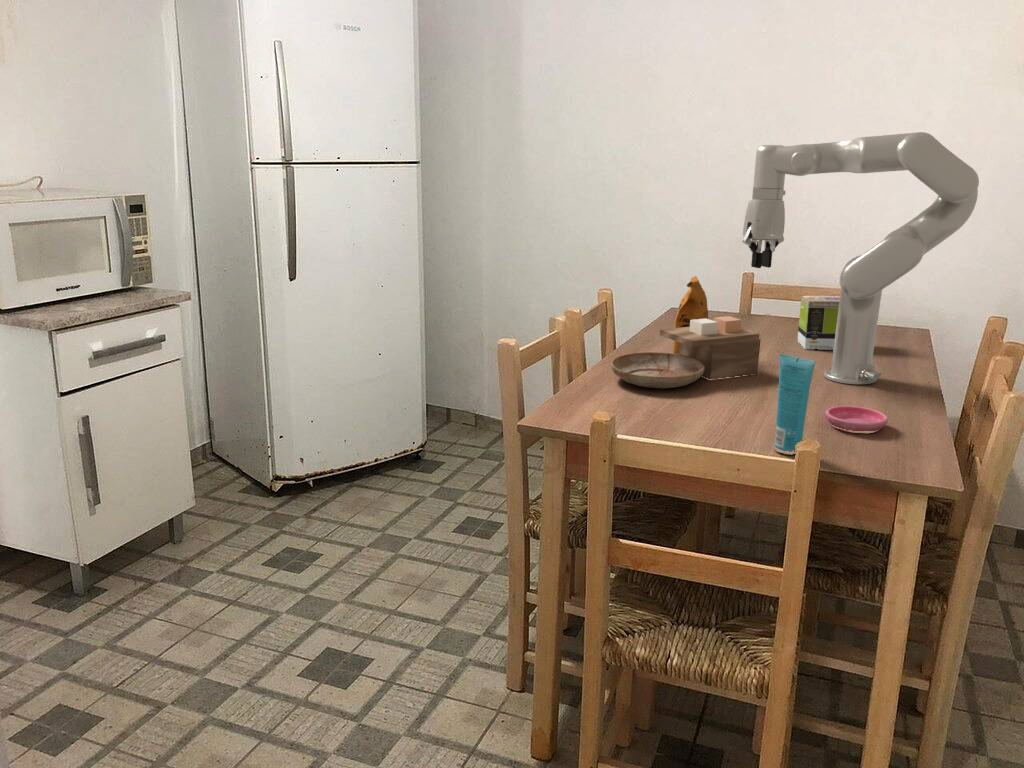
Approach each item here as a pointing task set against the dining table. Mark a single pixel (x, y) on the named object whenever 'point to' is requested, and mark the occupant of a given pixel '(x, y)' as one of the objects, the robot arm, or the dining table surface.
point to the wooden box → (719, 351)
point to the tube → (792, 400)
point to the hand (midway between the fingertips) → (761, 266)
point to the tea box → (818, 322)
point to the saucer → (856, 418)
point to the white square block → (703, 326)
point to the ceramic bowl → (657, 369)
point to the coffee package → (691, 308)
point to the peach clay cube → (728, 324)
